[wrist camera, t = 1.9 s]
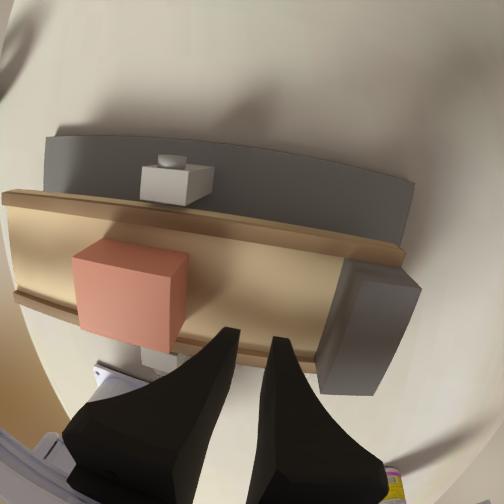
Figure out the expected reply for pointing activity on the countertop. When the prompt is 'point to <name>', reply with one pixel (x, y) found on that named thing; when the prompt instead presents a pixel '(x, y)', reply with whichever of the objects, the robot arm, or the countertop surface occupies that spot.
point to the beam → (232, 280)
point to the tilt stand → (229, 188)
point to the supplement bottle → (394, 488)
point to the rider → (131, 292)
